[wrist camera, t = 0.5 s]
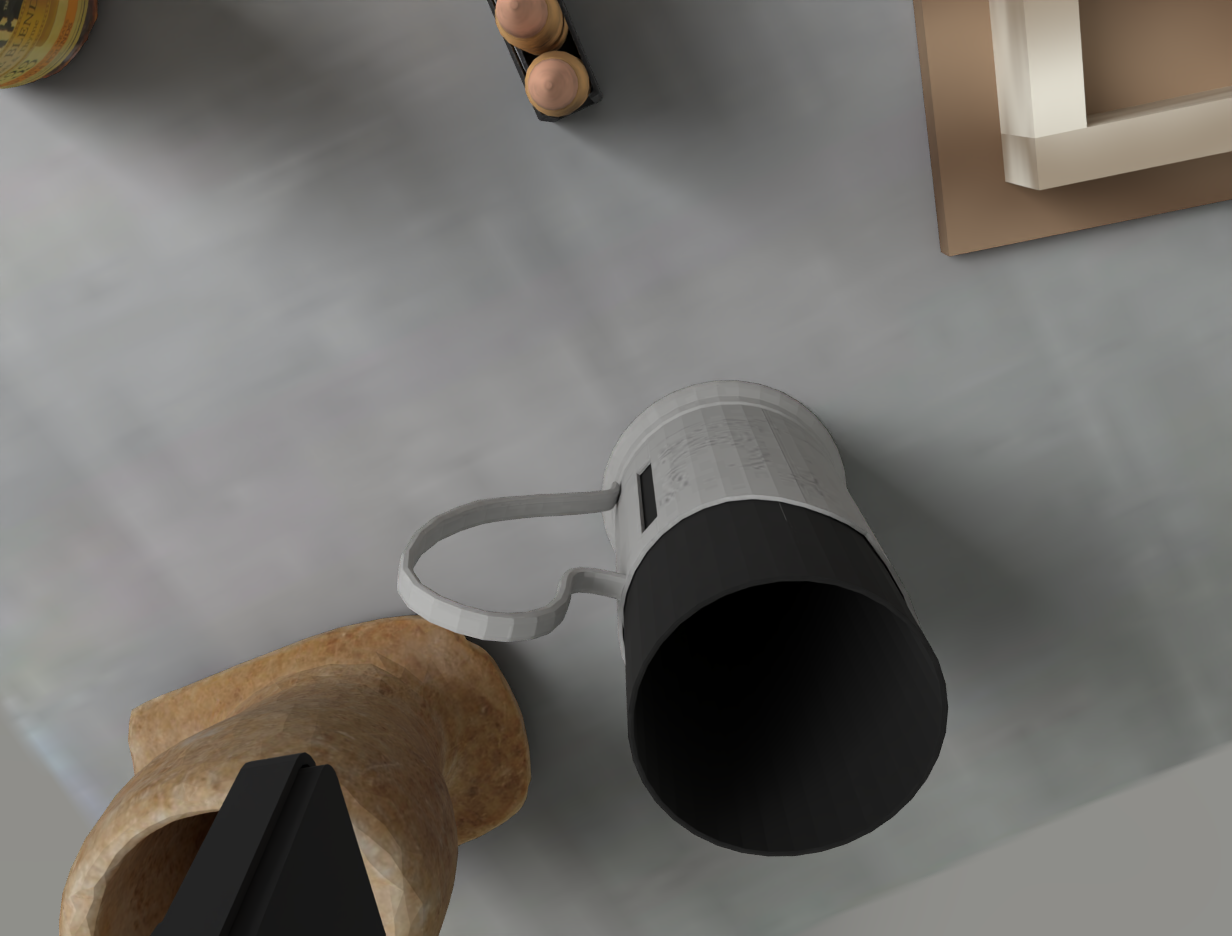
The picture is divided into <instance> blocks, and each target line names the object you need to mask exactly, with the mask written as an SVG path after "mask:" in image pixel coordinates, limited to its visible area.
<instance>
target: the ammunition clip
mask: <svg viewBox="0 0 1232 936" xmlns="http://www.w3.org/2000/svg"><path fill="white" fill-rule="evenodd" d="M487 1H488V3H489V6H490V8H491V10H492V13H493V15H494V17H495V20H496V24H497V27H498V29H499V31H500V34H501V35H502V36H503V38H504V40H505V43H506V45H507V47H508V50H509V52H510V54H511V57H512V59H513V61H514V64H515V66H516V68H517V71H518V73H519V75H520V78H521V80H522V82H523V84H524V87H525V90H526V94H527V96H528V98H529V101H530V103H531V104H532V105H533V108H534V110H535V112H536V115H537V117H538V119H539V120H540V121H547V122H555V121H557V120H559V119H562V118H564V117H566V116H568V115H570V114H573V113H575V112H577V111H579V110H581V109H584V108H586V107H588V106H590V105H593V104H595V103H597V102H599V101H601V100H602V94H601V91H600V89H599V87H598V84H597V82H596V79H595V77H594V74H593V72H592V70H591V67H590V65H589V62H588V60H587V57H586V55H585V53H584V50H583V48H582V45H581V43H580V40H579V38H578V36H577V33H576V31H575V28H574V26H573V23H572V21H571V19H570V16H569V14H568V11H567V9H566V6H565V4H564V2H563V0H496V2H497V3H496V4H495V2H494V0H487ZM514 46H515V47H516V49H517V51H518V53H519V56H520V58H521V60H522V63H523V65H524V68H525V70H526V72H527V73H526V72H525V70H524V68H523V66H522V64H521V62H520V59H519V57H518V55H517V53H516V50H515V48H514Z"/></svg>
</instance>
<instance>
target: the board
mask: <svg viewBox="0 0 1232 936" xmlns="http://www.w3.org/2000/svg"><path fill="white" fill-rule="evenodd" d="M913 5H914V14H915V23H916V32H917V41H918V50H919V59H920V68H921V77H922V86H923V95H924V104H925V113H926V122H927V131H928V140H929V149H930V158H931V167H932V176H933V185H934V194H935V203H936V212H937V221H938V230H939V239H940V248H941V252H942V253H944V254H946V255H948V256H954V255H959V254H964V253H969V252H974V251H978V250H983V249H988V248H993V247H998V246H1003V245H1008V244H1013V243H1018V242H1023V241H1028V240H1033V239H1038V238H1043V237H1048V236H1053V235H1058V234H1062V233H1067V232H1072V231H1077V230H1082V229H1087V228H1092V227H1097V226H1102V225H1107V224H1112V223H1117V222H1122V221H1127V220H1132V219H1137V218H1142V217H1146V216H1151V215H1156V214H1161V213H1166V212H1171V211H1176V210H1181V209H1186V208H1191V207H1196V206H1201V205H1206V204H1211V203H1216V202H1221V201H1226V200H1230V199H1232V0H913Z"/></svg>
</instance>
